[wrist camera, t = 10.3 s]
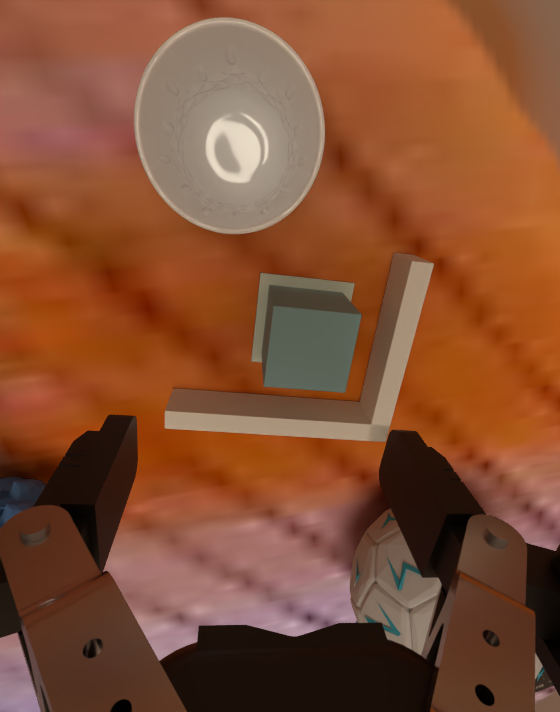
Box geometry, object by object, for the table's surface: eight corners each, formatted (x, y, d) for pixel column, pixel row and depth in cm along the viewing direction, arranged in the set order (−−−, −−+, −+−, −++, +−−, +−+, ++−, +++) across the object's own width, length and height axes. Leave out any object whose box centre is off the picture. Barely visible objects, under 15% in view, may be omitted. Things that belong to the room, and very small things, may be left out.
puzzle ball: (305, 543, 40) (334, 731, 26) (404, 437, 36) (501, 596, 22) (413, 593, 44) (488, 777, 31) (513, 504, 40) (652, 672, 26)
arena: (173, 404, 33) (164, 428, 29) (176, 226, 27) (167, 232, 24) (372, 418, 35) (385, 441, 31) (413, 254, 29) (434, 263, 26)
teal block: (329, 359, 32) (345, 392, 27) (261, 353, 31) (263, 386, 26) (342, 292, 30) (361, 314, 25) (269, 284, 29) (273, 305, 24)
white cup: (212, 237, 28) (195, 263, 18) (150, 117, 25) (93, 79, 15) (316, 184, 27) (352, 185, 18) (265, 54, 24) (276, -27, 15)
